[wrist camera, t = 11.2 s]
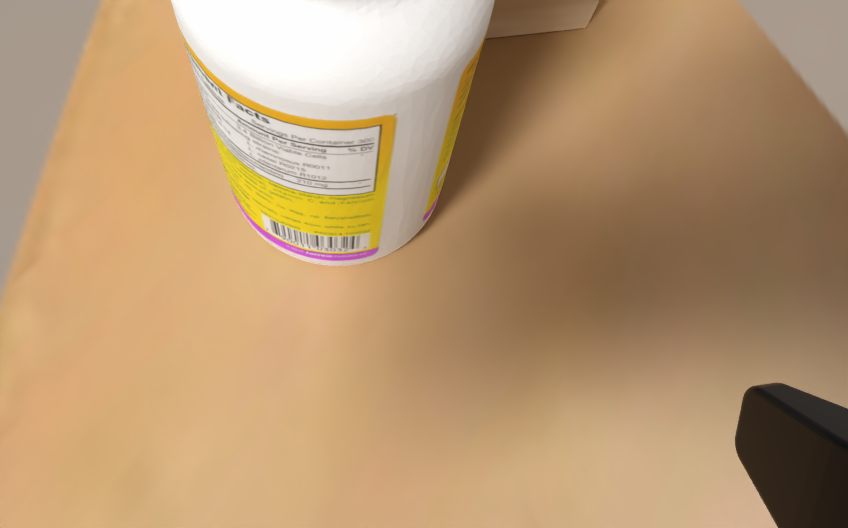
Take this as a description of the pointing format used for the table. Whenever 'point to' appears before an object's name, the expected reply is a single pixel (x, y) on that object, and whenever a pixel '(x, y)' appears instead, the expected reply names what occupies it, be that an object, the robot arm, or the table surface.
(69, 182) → the table surface
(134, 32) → the table surface
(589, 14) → the birch backstop wall
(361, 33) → the supplement bottle
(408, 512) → the table surface
